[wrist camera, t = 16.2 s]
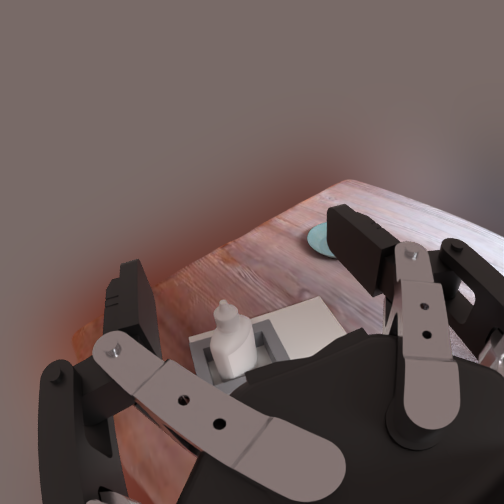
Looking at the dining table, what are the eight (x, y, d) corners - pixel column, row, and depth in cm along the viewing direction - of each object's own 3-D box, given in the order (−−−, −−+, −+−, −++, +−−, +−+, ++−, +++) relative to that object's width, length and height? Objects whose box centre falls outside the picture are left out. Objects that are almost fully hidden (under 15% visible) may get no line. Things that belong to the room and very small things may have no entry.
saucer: (343, 275, 49) (344, 264, 48) (294, 247, 57) (293, 237, 56) (380, 246, 55) (381, 236, 53) (333, 224, 63) (334, 215, 61)
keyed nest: (319, 299, 45) (319, 280, 43) (376, 379, 32) (382, 363, 30) (189, 340, 41) (182, 323, 39) (217, 441, 28) (209, 430, 26)
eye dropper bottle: (269, 370, 35) (260, 302, 28) (229, 393, 33) (206, 329, 26) (250, 348, 38) (237, 278, 31) (212, 368, 36) (188, 301, 29)
